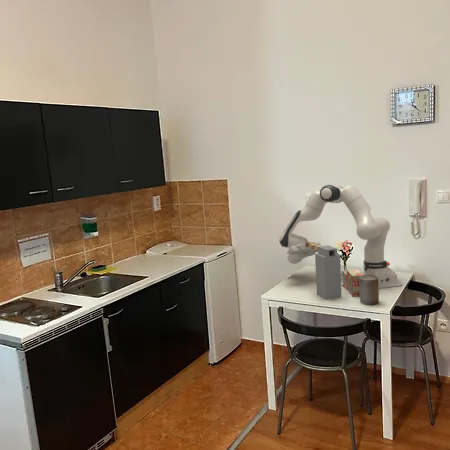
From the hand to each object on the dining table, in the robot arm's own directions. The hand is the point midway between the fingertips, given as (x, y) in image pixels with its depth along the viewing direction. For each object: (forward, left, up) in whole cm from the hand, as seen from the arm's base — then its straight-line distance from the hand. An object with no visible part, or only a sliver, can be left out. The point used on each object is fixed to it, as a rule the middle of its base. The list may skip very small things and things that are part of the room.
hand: (309, 244), depth 269 cm
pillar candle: (-26, +33, -26) cm, 50 cm away
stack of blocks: (-22, +12, -26) cm, 37 cm away
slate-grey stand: (-7, +20, -26) cm, 33 cm away
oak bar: (-2, +7, -2) cm, 7 cm away
